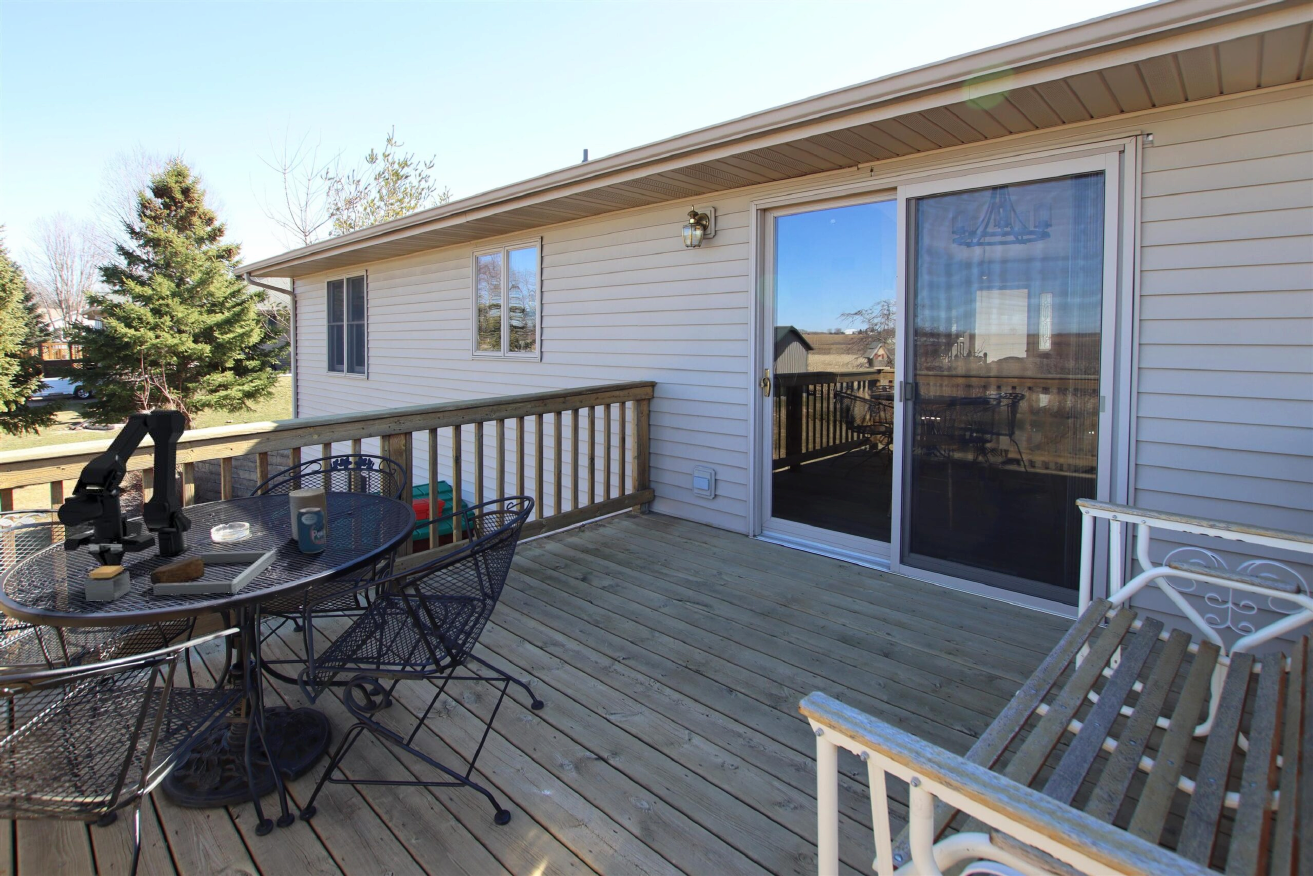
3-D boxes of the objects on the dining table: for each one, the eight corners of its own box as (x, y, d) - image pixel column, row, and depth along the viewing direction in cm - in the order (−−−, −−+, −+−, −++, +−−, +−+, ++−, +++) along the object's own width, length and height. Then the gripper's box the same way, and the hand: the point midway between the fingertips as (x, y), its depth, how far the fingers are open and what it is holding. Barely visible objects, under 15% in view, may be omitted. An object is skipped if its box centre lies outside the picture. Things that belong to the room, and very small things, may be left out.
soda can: (318, 554, 192) (316, 512, 190) (294, 553, 192) (291, 512, 190) (330, 546, 199) (328, 505, 197) (307, 545, 199) (304, 505, 197)
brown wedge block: (194, 573, 177) (193, 555, 176) (205, 575, 176) (203, 558, 175) (150, 587, 168) (148, 569, 167) (161, 590, 166) (159, 571, 165)
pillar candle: (335, 532, 212) (331, 484, 209) (316, 542, 202) (312, 492, 200) (304, 531, 213) (301, 483, 210) (285, 540, 203) (280, 491, 201)
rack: (204, 561, 185) (203, 552, 185) (276, 559, 188) (275, 550, 187) (154, 596, 162) (152, 586, 162) (236, 593, 165) (235, 583, 164)
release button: (104, 587, 163) (101, 566, 162) (124, 586, 164) (122, 565, 163) (91, 594, 159) (89, 573, 158) (112, 593, 160) (110, 572, 159)
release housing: (103, 591, 164) (100, 571, 163) (131, 590, 165) (128, 571, 164) (86, 602, 158) (83, 581, 157) (115, 601, 159) (112, 580, 158)
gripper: (168, 506, 177) (174, 565, 179) (96, 505, 177) (103, 563, 180) (134, 519, 166) (141, 581, 168) (57, 517, 166) (66, 579, 169)
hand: (114, 575), depth 171 cm, fingers closed
